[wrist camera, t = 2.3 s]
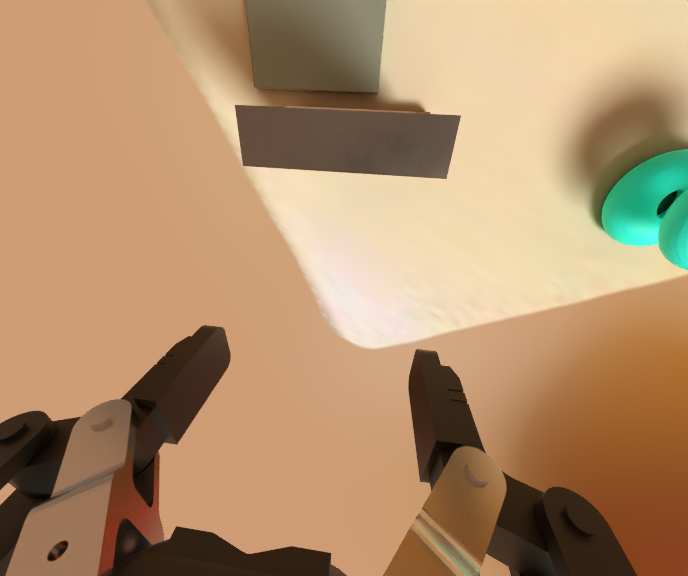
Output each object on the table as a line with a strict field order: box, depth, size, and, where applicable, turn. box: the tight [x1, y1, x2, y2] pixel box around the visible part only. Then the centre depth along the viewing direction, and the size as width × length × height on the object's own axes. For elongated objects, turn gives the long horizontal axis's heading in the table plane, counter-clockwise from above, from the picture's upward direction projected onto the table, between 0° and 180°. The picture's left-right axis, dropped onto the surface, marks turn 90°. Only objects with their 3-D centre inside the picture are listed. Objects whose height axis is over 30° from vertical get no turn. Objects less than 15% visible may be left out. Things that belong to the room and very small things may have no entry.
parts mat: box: [246, 0, 386, 94], centre depth 24 cm, size 13×13×1 cm
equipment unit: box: [235, 105, 461, 179], centre depth 22 cm, size 14×6×18 cm, turn 87°
